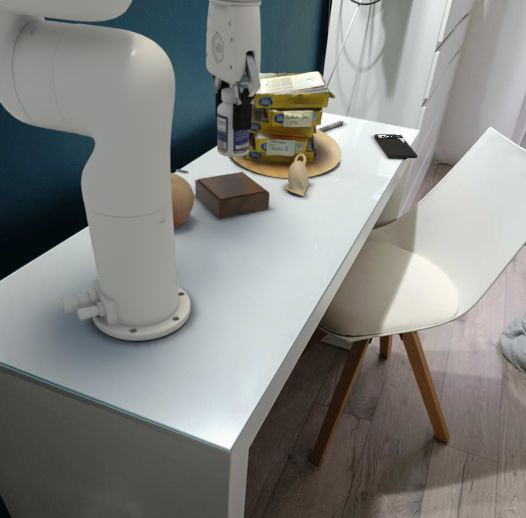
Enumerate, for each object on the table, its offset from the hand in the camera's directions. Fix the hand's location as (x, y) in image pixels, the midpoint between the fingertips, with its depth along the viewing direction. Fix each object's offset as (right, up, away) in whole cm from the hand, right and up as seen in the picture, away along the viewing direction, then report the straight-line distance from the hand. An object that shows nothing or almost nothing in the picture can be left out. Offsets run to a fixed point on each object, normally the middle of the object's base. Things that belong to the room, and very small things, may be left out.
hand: (233, 122), depth 83 cm
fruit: (-11, -16, +2) cm, 20 cm away
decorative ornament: (+12, -6, +16) cm, 21 cm away
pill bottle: (0, -4, +3) cm, 5 cm away
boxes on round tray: (+13, +4, +31) cm, 34 cm away
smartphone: (+37, +7, +32) cm, 49 cm away
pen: (+23, +20, +45) cm, 54 cm away
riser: (-1, -11, +9) cm, 14 cm away
